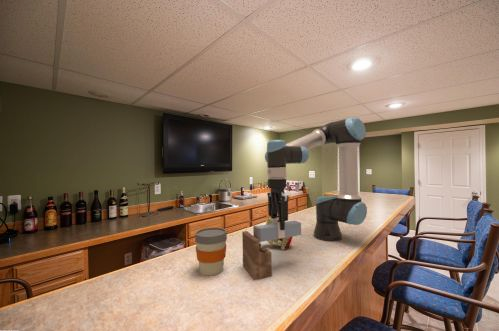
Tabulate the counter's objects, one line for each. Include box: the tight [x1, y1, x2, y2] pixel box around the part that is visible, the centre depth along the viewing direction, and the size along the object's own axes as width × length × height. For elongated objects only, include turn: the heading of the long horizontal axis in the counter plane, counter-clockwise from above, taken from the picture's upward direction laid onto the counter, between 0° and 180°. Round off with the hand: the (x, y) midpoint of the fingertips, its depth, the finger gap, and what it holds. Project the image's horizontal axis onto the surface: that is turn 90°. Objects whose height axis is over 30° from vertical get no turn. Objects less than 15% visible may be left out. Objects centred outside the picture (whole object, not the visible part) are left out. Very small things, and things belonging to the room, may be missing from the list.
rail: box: [252, 220, 302, 243], centre depth 85 cm, size 20×4×5 cm, turn 114°
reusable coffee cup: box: [194, 227, 228, 277], centre depth 83 cm, size 13×13×15 cm
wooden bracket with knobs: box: [241, 230, 273, 281], centre depth 82 cm, size 7×12×14 cm, turn 22°
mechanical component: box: [265, 216, 293, 251], centre depth 106 cm, size 8×17×20 cm, turn 79°
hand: (278, 235), depth 85 cm, fingers closed on rail, 4 cm apart
